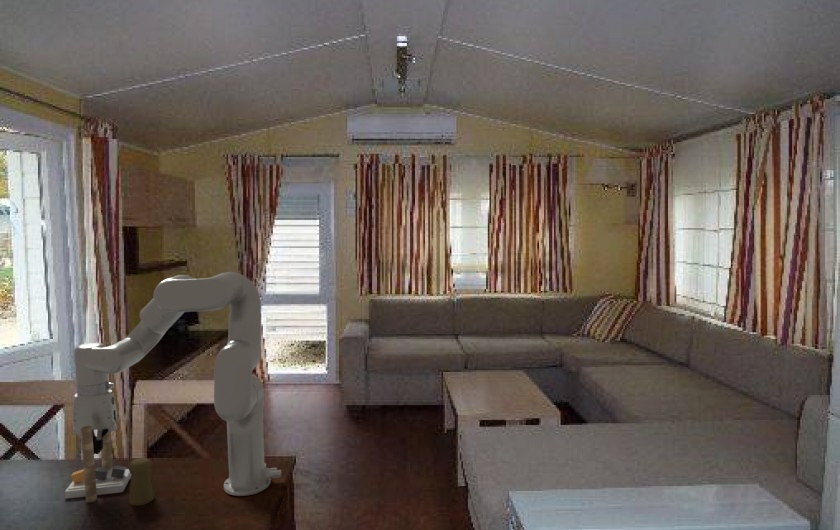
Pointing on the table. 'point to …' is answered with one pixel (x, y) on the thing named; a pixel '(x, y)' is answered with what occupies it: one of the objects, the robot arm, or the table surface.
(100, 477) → the grey block
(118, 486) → the panel
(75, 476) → the orange block
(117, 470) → the grey block
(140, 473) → the cork
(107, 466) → the post far
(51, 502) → the table surface
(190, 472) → the table surface
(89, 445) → the post near
